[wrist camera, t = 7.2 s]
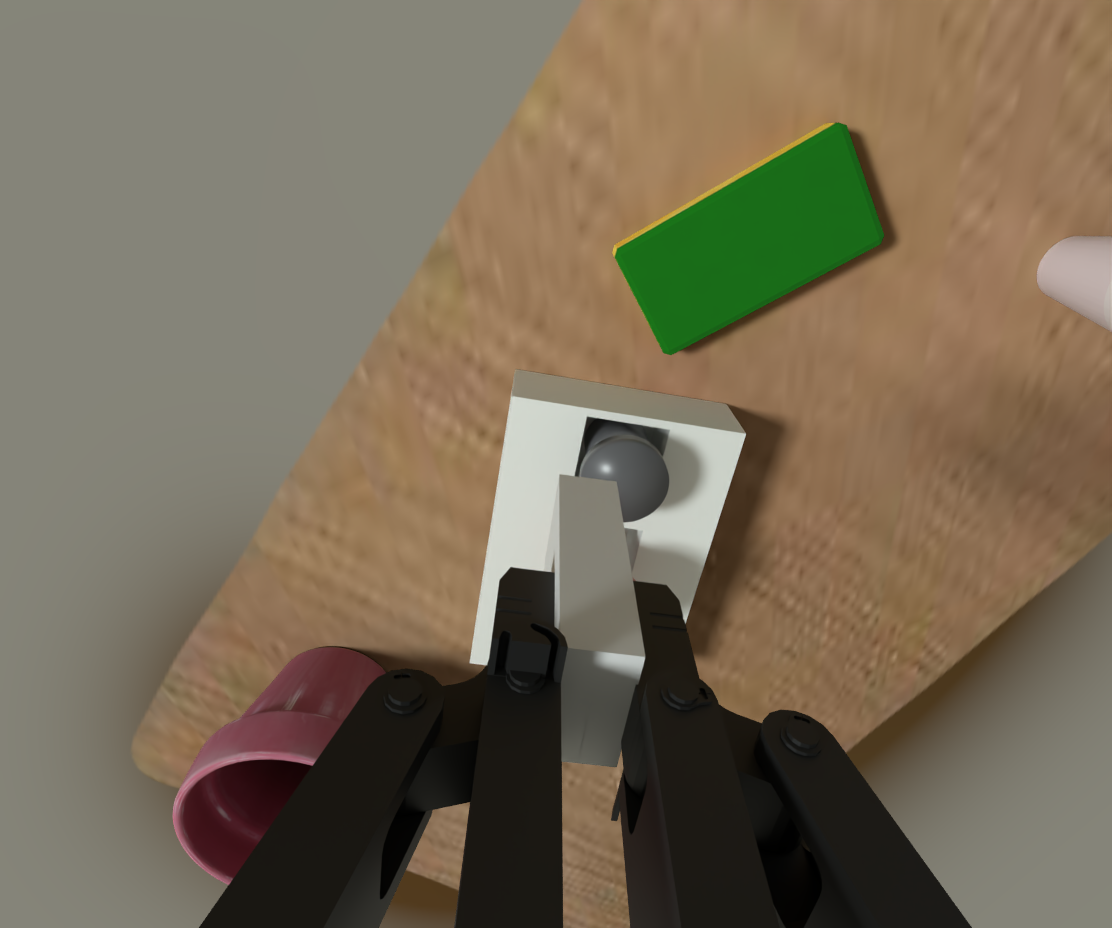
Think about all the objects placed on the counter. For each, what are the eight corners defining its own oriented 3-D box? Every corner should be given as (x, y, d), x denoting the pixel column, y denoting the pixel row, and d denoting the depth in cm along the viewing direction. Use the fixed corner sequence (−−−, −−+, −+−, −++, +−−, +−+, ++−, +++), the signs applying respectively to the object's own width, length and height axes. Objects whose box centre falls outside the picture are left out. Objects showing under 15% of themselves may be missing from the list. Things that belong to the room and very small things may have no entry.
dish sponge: (869, 236, 41) (887, 241, 39) (660, 347, 44) (666, 358, 42) (828, 120, 39) (845, 118, 36) (608, 246, 41) (612, 252, 39)
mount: (726, 403, 45) (746, 433, 41) (655, 641, 54) (664, 687, 49) (515, 369, 44) (511, 396, 40) (476, 617, 53) (469, 663, 48)
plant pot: (463, 701, 56) (441, 848, 45) (340, 776, 60) (291, 930, 48) (336, 587, 51) (275, 719, 40) (211, 677, 55) (122, 822, 43)
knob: (662, 411, 43) (679, 451, 38) (644, 481, 45) (657, 528, 40) (584, 398, 43) (589, 436, 37) (569, 469, 45) (572, 515, 40)
